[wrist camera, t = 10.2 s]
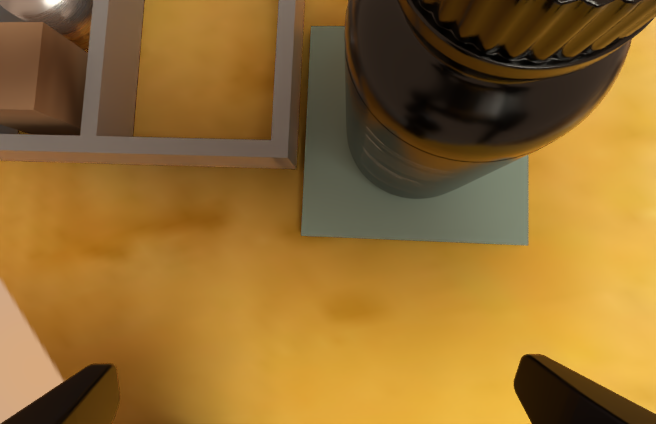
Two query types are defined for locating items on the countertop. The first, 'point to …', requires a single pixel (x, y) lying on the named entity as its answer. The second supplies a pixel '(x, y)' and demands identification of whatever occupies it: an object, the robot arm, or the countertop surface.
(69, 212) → the countertop surface
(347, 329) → the countertop surface
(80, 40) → the silver round piece
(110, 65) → the parts organiser
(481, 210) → the rubber mat
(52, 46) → the walnut block
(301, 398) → the countertop surface
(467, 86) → the supplement bottle
